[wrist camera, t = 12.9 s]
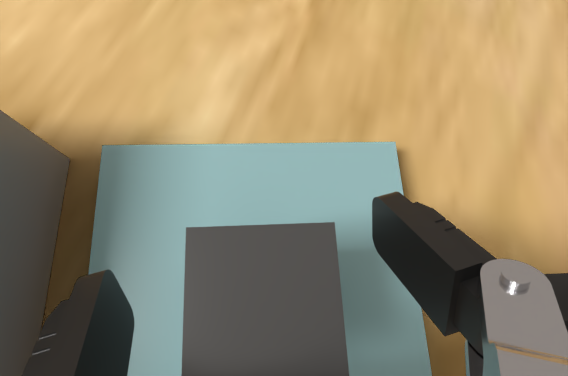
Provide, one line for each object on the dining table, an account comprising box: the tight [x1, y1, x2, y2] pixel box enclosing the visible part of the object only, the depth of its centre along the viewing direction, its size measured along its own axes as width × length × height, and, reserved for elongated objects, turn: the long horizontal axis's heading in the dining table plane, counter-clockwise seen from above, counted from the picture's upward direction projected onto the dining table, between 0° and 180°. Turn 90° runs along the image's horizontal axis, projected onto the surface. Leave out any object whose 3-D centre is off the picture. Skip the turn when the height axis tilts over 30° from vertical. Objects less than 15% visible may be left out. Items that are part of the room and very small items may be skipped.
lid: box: [88, 142, 432, 376], centre depth 13 cm, size 15×15×9 cm
